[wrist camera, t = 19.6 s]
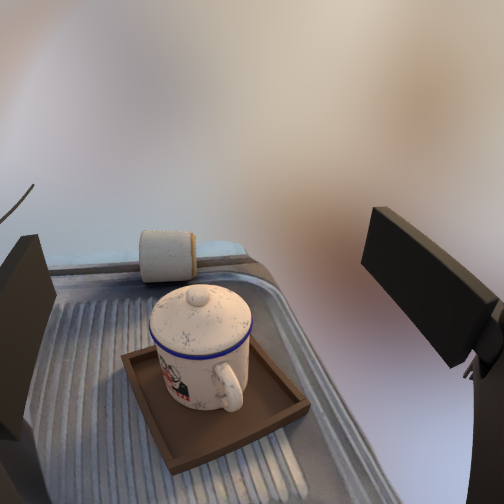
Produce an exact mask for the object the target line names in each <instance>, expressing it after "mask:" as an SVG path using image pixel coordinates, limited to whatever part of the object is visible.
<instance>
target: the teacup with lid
mask: <svg viewBox="0 0 504 504" xmlns="http://www.w3.org/2000/svg"><path fill="white" fill-rule="evenodd" d="M252 325H253V319H252V314H251V312H250V309H249V307H248V305H247V304H246V303H245V301H244V300H243V299H242V298H241V297H240V296H238V295H237V294H236V293H234V292H232V291H230V290H228V289H226V288H223V287H219V286H214V285H191V286H186V287H182V288H179V289H176V290H174V291H172V292H170V293H168V294H167V295H165V296H164V297H162V298H161V299H160V300H159V301H158V302H157V304H156V305H155V306H154V308H153V310H152V312H151V315H150V319H149V331H150V334H151V336H152V338H153V340H154V341H155V344H156V348H157V353H158V357H159V361H160V364H161V368H162V372H163V376H164V380H165V383H166V387H167V389H168V391H169V393H170V394H171V395H172V397H173V398H174V399H175V400H177V401H178V402H179V403H181V404H182V405H184V406H187V407H189V408H192V409H196V410H215V409H220V408H224V409H225V410H226V411H228V412H234V411H237V410H239V409H240V408H241V407H242V404H243V395H242V393H243V391H244V390H245V388H246V385H247V380H248V358H249V335H250V333H251V330H252Z"/></svg>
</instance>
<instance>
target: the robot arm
mask: <svg viewBox="0 0 504 504" xmlns="http://www.w3.org/2000/svg"><path fill="white" fill-rule="evenodd" d="M33 187H34V184H32V186H31V187H30V188H29V190H28V191H27V192H26V193H25V195H24V196H23V197H22V198H21V199H20V201H19V202H18V203H17V204H16V205H15V206H14V207H13V208H12V209H11V210H10V211H9V212H8V213H7V214H6V215H5V216H3V218H1V219H0V224H1V223H2V222H3V221H4V220H5V219H6V218H7V217H8V216H9V215H10V214H11V213H12V212H13V211H14V210H15V209H16V208H17V207H18V206H19V205H20V204H21V202H22V201H23V200H24V199H25V197H26V196H27V195H28V194H29V192H30V191H31V190H32V188H33ZM361 264H362V265H363V266H364V267H365V268H366V270H367V271H368V272H369V273H370V274H371V275H372V276H373V277H374V278H375V280H376V281H377V282H378V283H379V284H380V285H381V286H382V287H383V289H384V290H385V291H386V292H387V293H388V294H389V295H390V296H391V298H392V299H393V300H394V301H395V302H396V303H397V305H398V306H399V307H400V308H401V309H402V310H403V311H404V313H405V314H406V315H407V316H408V317H409V318H410V320H411V321H412V322H413V323H414V324H415V325H416V327H417V328H418V329H419V330H420V332H421V333H422V334H423V335H424V336H425V338H426V339H427V340H428V341H429V342H430V344H431V345H432V346H433V347H434V348H435V350H436V351H437V352H438V354H439V355H440V356H441V357H442V359H443V360H444V361H445V362H446V364H447V365H448V366H449V367H450V369H451V368H453V367H455V366H457V365H459V364H461V363H463V362H465V360H466V358H467V357H468V355H469V354H470V352H471V350H472V349H473V350H474V351H475V352H476V356H475V358H474V359H473V360H472V362H471V364H470V365H469V367H468V368H467V370H466V371H465V373H464V375H463V378H466V377H467V376H468V374H469V373H470V371H473V373H472V375H471V377H470V378H469V379H470V380H473V384H474V426H473V446H472V461H471V470H470V479H469V487H468V494H467V500H466V504H504V303H503V302H502V301H501V300H500V299H499V298H498V297H497V296H496V295H495V294H494V293H493V292H492V291H491V290H489V289H488V288H487V287H486V286H485V285H484V284H483V283H482V282H481V281H480V280H478V279H477V278H476V277H475V276H474V275H473V274H472V273H470V272H469V271H468V270H467V269H466V268H465V267H463V266H462V265H461V264H460V263H459V262H458V261H456V260H455V259H454V258H453V257H451V256H450V255H449V254H448V253H447V252H446V251H444V250H443V249H442V248H441V247H439V246H438V245H437V244H436V243H434V242H433V241H432V240H431V239H429V238H428V237H427V236H426V235H424V234H423V233H422V232H420V231H419V230H418V229H416V228H415V227H414V226H413V225H411V224H410V223H409V222H407V221H406V220H405V219H403V218H402V217H401V216H399V215H398V214H396V213H395V212H394V211H392V210H391V209H390V208H388V207H373V210H372V215H371V219H370V225H369V229H368V234H367V239H366V243H365V247H364V252H363V256H362V260H361ZM56 296H57V295H56V292H55V289H54V286H53V283H52V280H51V277H50V274H49V271H48V268H47V264H46V261H45V258H44V254H43V251H42V248H41V244H40V240H39V237H38V234H35V235H27V236H21V237H20V239H19V240H18V242H17V243H16V244H15V246H14V247H13V249H12V250H11V252H10V253H9V254H8V256H7V257H6V259H5V261H4V262H3V264H2V265H1V267H0V439H3V440H10V441H17V442H19V438H20V432H21V426H22V420H23V415H24V409H25V405H26V400H27V395H28V391H29V386H30V382H31V378H32V374H33V370H34V366H35V363H36V359H37V355H38V352H39V348H40V345H41V341H42V338H43V335H44V331H45V328H46V325H47V322H48V319H49V316H50V313H51V310H52V307H53V304H54V301H55V299H56ZM0 504H26V503H25V502H24V500H23V499H22V497H21V496H20V494H19V493H18V491H17V489H16V488H15V486H14V484H13V483H12V481H11V479H10V478H9V476H8V474H7V472H6V471H5V469H4V467H3V465H2V463H1V461H0Z"/></svg>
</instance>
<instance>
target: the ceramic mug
mask: <svg viewBox="0 0 504 504" xmlns="http://www.w3.org/2000/svg"><path fill="white" fill-rule="evenodd" d="M139 262H140V272H141V277H142V280H143V282H144V283H150V282H168V281H186V280H191V279H193V278H195V276H196V237H195V235H194V234H193V233H190V232H185V231H142V233H141V237H140V243H139Z"/></svg>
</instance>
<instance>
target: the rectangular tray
mask: <svg viewBox="0 0 504 504" xmlns="http://www.w3.org/2000/svg"><path fill="white" fill-rule="evenodd" d="M121 359H122V361H123V364H124V367H125V370H126V373H127V375H128V378H129V381H130V383H131V386H132V388H133V391H134V394H135V396H136V399H137V401H138V404H139V406H140V408H141V411H142V413H143V416H144V418H145V420H146V423H147V425H148V427H149V429H150V432H151V434H152V436H153V438H154V440H155V442H156V445H157V447H158V449H159V451H160V453H161V455H162V457H163V459H164V461H165V463H166V465H167V467H168V469H169V471H170V473H171V475H175V474H178V473H181V472H184V471H186V470H189V469H191V468H194V467H197V466H199V465H202V464H204V463H206V462H209V461H211V460H214V459H216V458H218V457H221V456H223V455H225V454H227V453H230V452H232V451H234V450H236V449H239V448H241V447H243V446H245V445H247V444H249V443H251V442H253V441H255V440H257V439H259V438H261V437H263V436H265V435H267V434H269V433H271V432H273V431H275V430H277V429H279V428H281V427H283V426H285V425H287V424H288V423H290V422H292V421H294V420H296V419H297V418H299V417H301V416H303V415H305V414H306V413H308V412H309V409H310V405H311V402H310V401H309V400H308V399H307V398H306V397H305V396H304V395H303V394H302V392H301V391H300V390H299V389H298V388H297V387H296V386H295V385H294V383H293V382H292V381H291V380H290V379H289V378H288V377H287V376H286V374H285V373H284V372H283V371H282V370H281V369H280V368H279V367H278V365H277V364H276V363H275V362H274V361H273V360H272V358H271V357H270V356H269V355H268V354H267V353H266V352H265V350H264V349H263V348H262V347H261V346H260V345H259V343H258V342H257V341H256V340H255V339H254V338H253V336H252V335H251V334H250V335H249V358H248V380H247V385H246V388H245V390H244V391H243V393H242V395H243V404H242V407H241V408H240V409H239V410H237V411H234V412H228V411H226V410H225V409H224V408H220V409H215V410H196V409H192V408H189V407H187V406H184V405H182V404H181V403H179V402H178V401H177V400H175V399H174V398H173V397H172V395H171V394H170V393H169V391H168V389H167V387H166V383H165V380H164V376H163V372H162V368H161V364H160V361H159V357H158V353H157V348H156V345H154V346H150V347H147V348H144V349H141V350H138V351H134V352H131V353H128V354H125V355H121Z"/></svg>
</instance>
